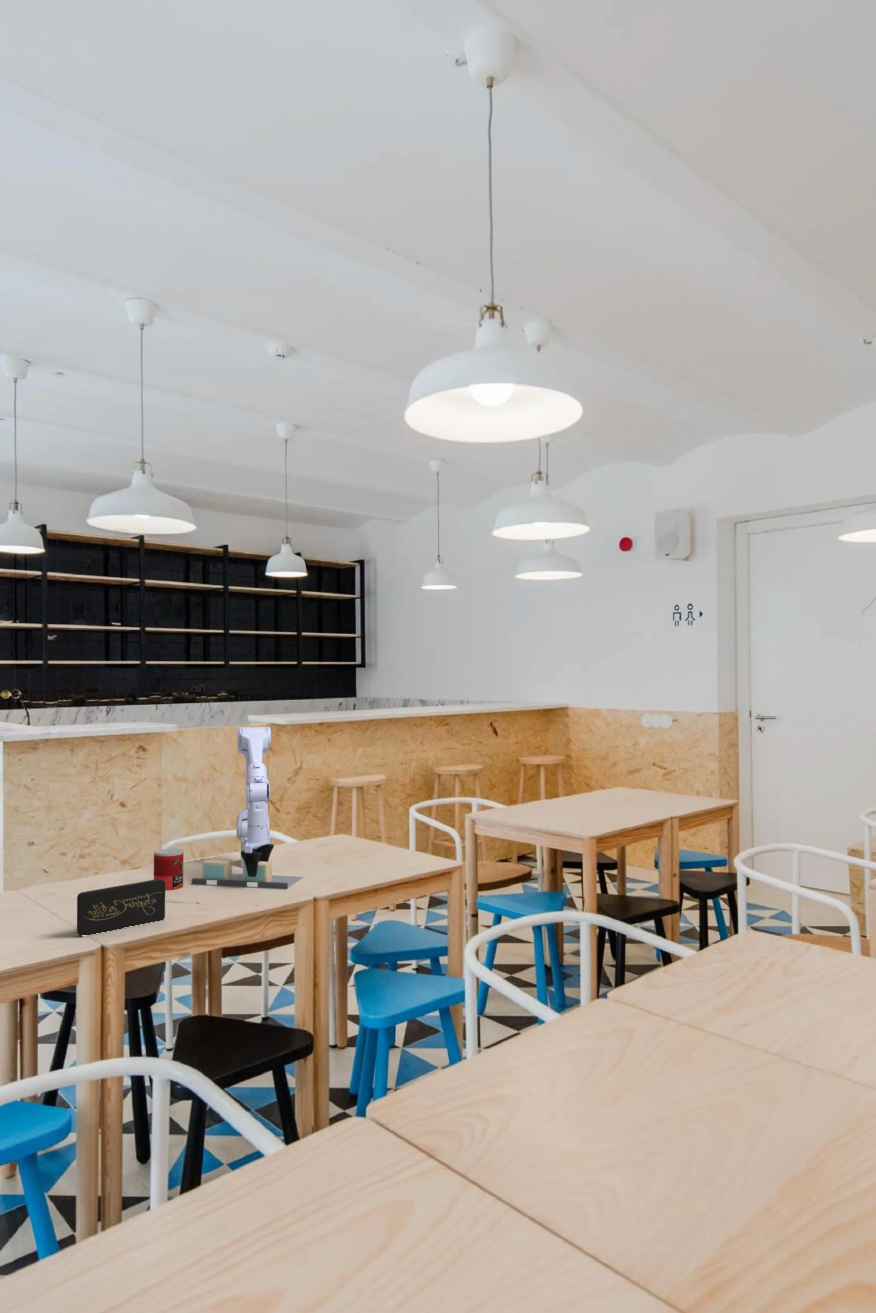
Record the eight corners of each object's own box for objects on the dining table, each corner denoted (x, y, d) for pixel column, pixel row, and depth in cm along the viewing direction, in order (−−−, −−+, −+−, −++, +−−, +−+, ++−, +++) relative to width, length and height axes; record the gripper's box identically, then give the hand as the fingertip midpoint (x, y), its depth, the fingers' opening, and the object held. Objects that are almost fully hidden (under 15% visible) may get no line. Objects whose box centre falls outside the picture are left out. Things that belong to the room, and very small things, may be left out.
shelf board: (213, 875, 265) (213, 867, 265) (303, 880, 260) (303, 871, 260) (190, 888, 250) (191, 879, 250) (285, 893, 245) (286, 884, 245)
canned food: (178, 894, 243) (178, 853, 243) (149, 893, 243) (149, 853, 244) (186, 887, 251) (187, 848, 251) (158, 886, 251) (159, 847, 251)
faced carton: (231, 881, 254) (231, 860, 254) (225, 884, 250) (225, 863, 250) (208, 880, 255) (208, 859, 255) (202, 883, 251) (202, 862, 251)
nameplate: (161, 918, 220) (161, 878, 220) (164, 920, 219) (165, 879, 219) (76, 936, 206) (77, 892, 206) (80, 938, 204) (80, 894, 204)
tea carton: (271, 883, 252) (271, 861, 252) (266, 886, 248) (266, 864, 248) (248, 881, 253) (248, 860, 254) (242, 885, 249) (242, 863, 250)
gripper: (254, 820, 259) (253, 867, 259) (233, 829, 244) (233, 878, 244) (277, 821, 257) (276, 868, 257) (258, 830, 243) (257, 879, 243)
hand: (257, 873), depth 251 cm, fingers open, 7 cm apart
